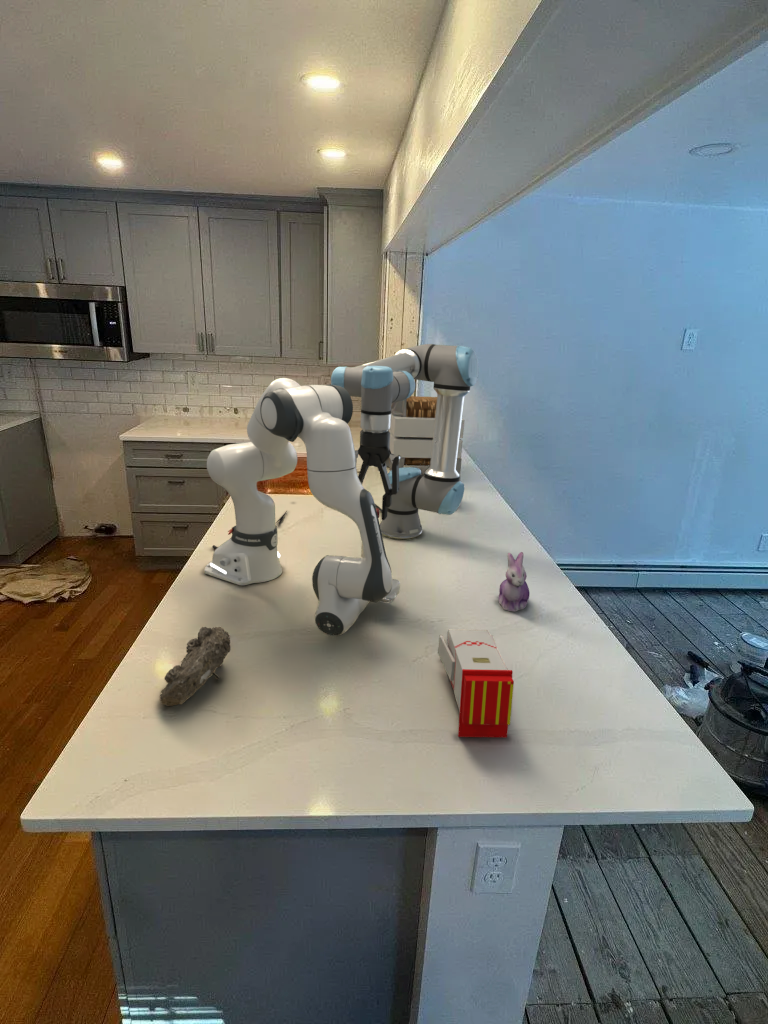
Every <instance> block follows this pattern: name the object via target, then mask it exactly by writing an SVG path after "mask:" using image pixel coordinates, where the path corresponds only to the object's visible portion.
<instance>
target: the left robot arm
mask: <svg viewBox="0 0 768 1024" xmlns="http://www.w3.org/2000/svg"><path fill="white" fill-rule="evenodd" d="M353 412H354V404H353V399H352V396H350V395H349V393H348V392H347V390H346V389H344V388H343V387H340V386H337V385H331V383H329V384H305V385H300V383H298V381H296V380H294V379H291V378H288V377H279V378H276V379H274V380H273V381H272V382H270V383H269V385H268V386H267V387H266V388H265V390H264V391H263V393H262V394H261V396H260V397H259V399H258V400H257V403H256V404H255V406H254V410H253V411H252V413H251V416H250V418H249V420H248V423H247V425H246V434H247V438H248V440H249V441H248V442H247V441H246V442H238V443H230V444H226V445H223V446H220V447H218V448H214V449H212V450H211V451H210V453H209V454H208V455H207V459H206V471H207V473H208V476H209V478H210V479H211V480H212V481H213V483H215V484H216V485H218V486H220V487H222V488H223V489H224V490H225V491H226V493H228V494H229V497H230V498H231V500H232V503H233V509H234V518H235V525H234V526H232V527H231V529H229V530H228V531H227V536H228V535H229V536H230V535H231V537H230V538H229V539H227V540H226V541H224V542H223V543H221V544H220V545H218V546H217V545H214V544H213V545H212V547H211V548H212V549H213V550H214V551H213V554H212V560H211V561H209V562H208V563H207V564H206V565H205V567H204V571H203V573H204V574H205V575H208V576H211V577H214V578H216V579H220V580H223V581H226V582H229V583H232V584H235V585H238V586H247V585H251V584H258V583H265V582H270V581H272V580H275V579H277V578H278V577H280V576H281V575H282V573H283V567H282V564H281V561H280V558H281V554H280V553H279V551H278V539H279V538H278V525H276V503H275V501H274V499H273V498H272V496H271V495H269V494H267V493H266V492H262V491H260V490H258V482H263V481H268V480H274V479H279V478H282V477H285V476H287V475H289V474H291V473H294V471H295V469H296V468H297V465H298V452H297V449H296V448H295V446H294V445H293V444H292V443H294V442H295V441H296V440H297V439H300V440H301V441H302V442H303V443H304V446H305V451H306V472H307V483H308V487H309V490H310V493H311V494H312V496H313V497H314V498H315V499H316V500H317V501H318V502H319V503H320V504H322V505H323V506H324V507H327V508H329V509H331V510H334V511H336V512H338V513H340V514H343V515H344V516H346V517H347V518H349V519H350V520H352V521H353V522H354V524H355V525H356V526H357V528H358V531H359V532H358V533H359V535H360V540H361V546H362V545H363V550H364V554H365V558H361V557H359V556H346V555H335V554H332V555H331V554H327V555H325V556H323V557H322V558H320V560H319V561H318V563H317V564H316V565H315V567H314V569H313V571H312V575H311V576H312V578H311V579H312V580H311V583H312V588H313V592H314V594H315V597H316V599H317V602H318V605H317V608H316V612H315V615H314V623H315V625H316V627H317V629H318V630H319V631H321V632H322V633H323V634H326V635H328V636H332V637H333V636H334V637H337V636H341V635H343V634H345V633H346V632H347V631H349V629H350V628H351V627H352V626H353V625H354V624H355V623H356V621H357V619H358V618H359V616H360V614H361V613H363V611H364V610H365V608H366V607H367V606H368V604H369V603H370V602H371V603H378V602H380V603H391V602H394V601H395V599H396V598H397V597H398V596H399V594H400V592H401V581H400V580H398V579H396V578H393V573H392V567H391V565H390V562H389V560H388V557H387V553H386V548H385V543H384V539H383V535H382V533H381V528H380V519H379V518H378V515H377V511H376V507H375V504H376V503H375V501H374V497H373V495H372V492H370V491H368V490H367V489H365V487H364V485H363V483H362V484H361V482H360V480H359V478H358V475H359V473H358V469H357V463H356V456H355V442H354V438H353V434H352V430H351V428H350V425H349V423H350V422H351V420H352V417H353Z"/></svg>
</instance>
